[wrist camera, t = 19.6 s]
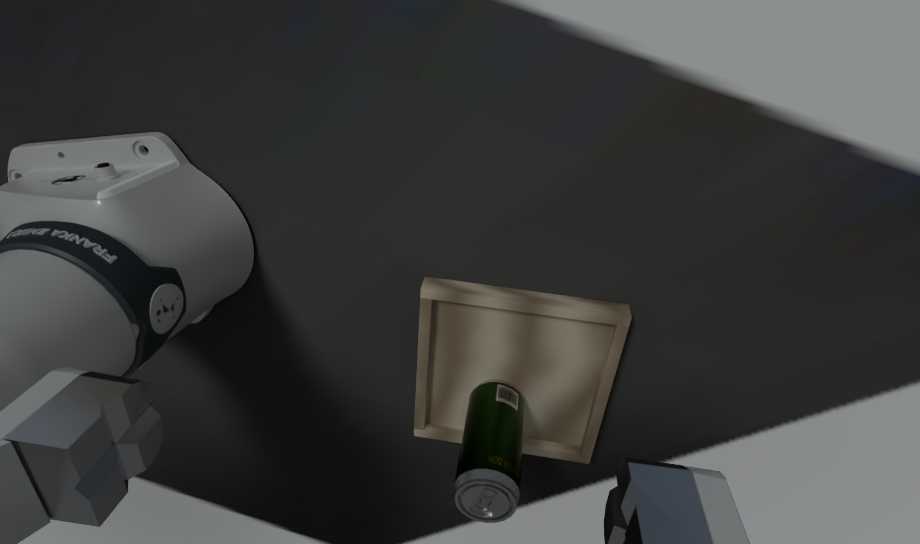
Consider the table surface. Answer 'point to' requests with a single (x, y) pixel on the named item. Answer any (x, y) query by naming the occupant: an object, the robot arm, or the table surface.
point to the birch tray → (518, 361)
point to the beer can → (491, 453)
